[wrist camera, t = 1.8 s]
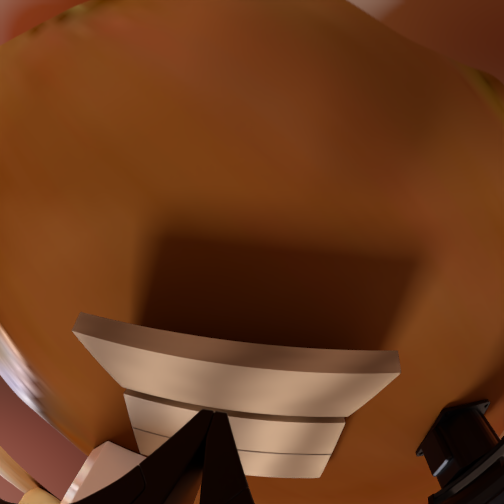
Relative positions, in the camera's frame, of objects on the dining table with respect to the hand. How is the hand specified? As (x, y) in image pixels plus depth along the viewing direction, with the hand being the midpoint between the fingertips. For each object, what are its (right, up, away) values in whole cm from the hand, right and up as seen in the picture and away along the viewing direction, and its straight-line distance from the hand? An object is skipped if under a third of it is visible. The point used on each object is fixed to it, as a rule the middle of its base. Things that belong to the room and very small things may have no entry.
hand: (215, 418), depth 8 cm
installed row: (0, -9, +11) cm, 15 cm away
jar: (-12, -18, +14) cm, 26 cm away
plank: (0, -1, +7) cm, 7 cm away
